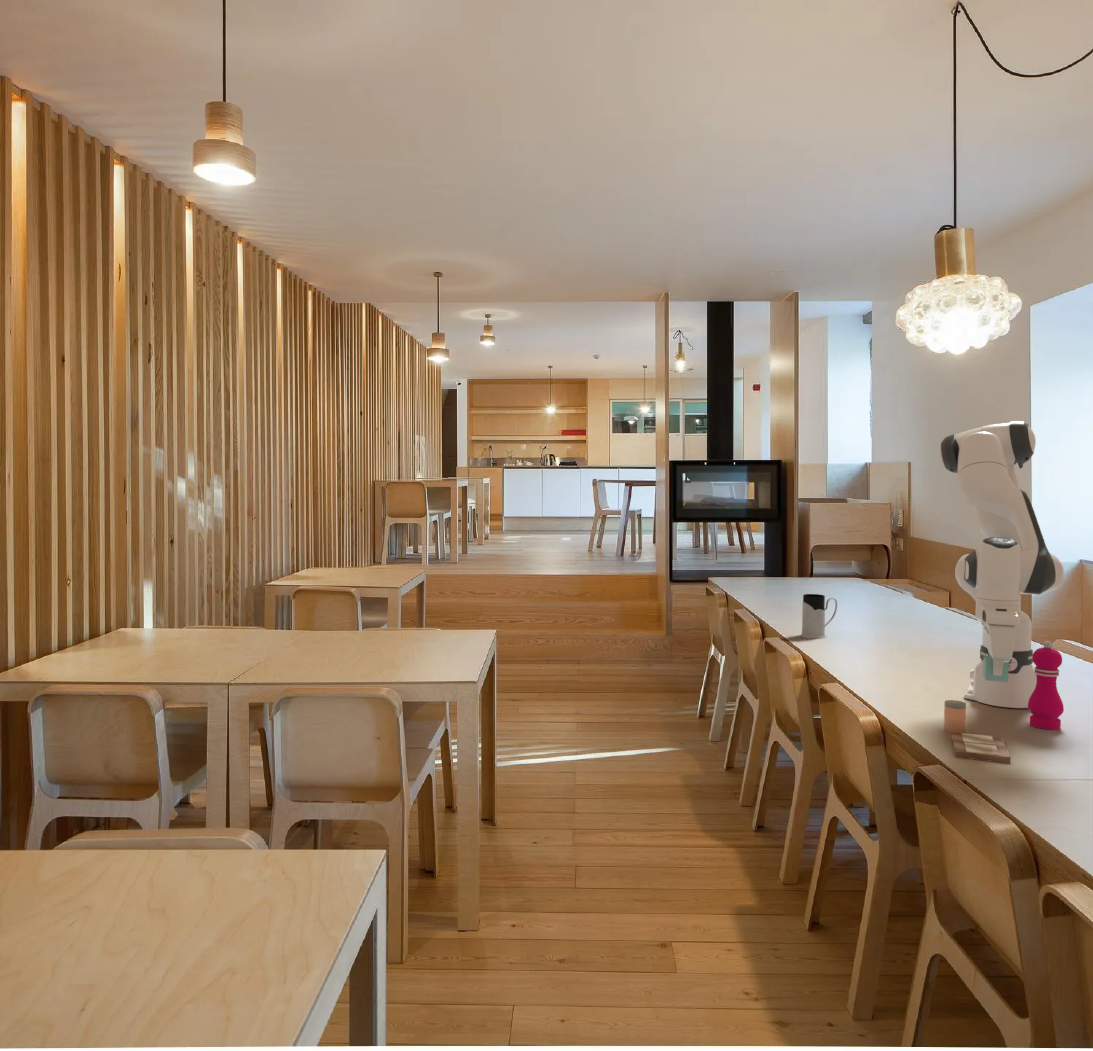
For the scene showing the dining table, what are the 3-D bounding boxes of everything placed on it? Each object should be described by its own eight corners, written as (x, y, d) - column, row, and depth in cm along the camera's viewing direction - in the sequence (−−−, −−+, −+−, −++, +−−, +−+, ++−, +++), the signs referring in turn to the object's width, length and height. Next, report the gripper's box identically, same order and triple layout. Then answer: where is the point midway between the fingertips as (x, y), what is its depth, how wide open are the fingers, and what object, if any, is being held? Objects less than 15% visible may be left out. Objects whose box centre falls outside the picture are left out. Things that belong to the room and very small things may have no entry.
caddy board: (951, 737, 188) (951, 731, 188) (1001, 742, 184) (1001, 736, 184) (955, 757, 175) (956, 750, 175) (1010, 763, 171) (1010, 756, 171)
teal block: (983, 675, 191) (983, 656, 191) (1005, 677, 190) (1006, 657, 189) (985, 680, 187) (985, 660, 187) (1008, 682, 186) (1008, 662, 185)
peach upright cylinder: (943, 728, 195) (943, 699, 194) (964, 730, 193) (965, 701, 193) (944, 733, 191) (945, 704, 190) (965, 735, 189) (966, 706, 189)
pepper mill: (1030, 719, 202) (1032, 636, 200) (1065, 724, 197) (1068, 640, 196) (1024, 726, 196) (1027, 641, 195) (1060, 732, 192) (1063, 645, 190)
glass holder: (795, 634, 309) (796, 594, 308) (828, 632, 313) (829, 592, 312) (810, 639, 300) (810, 597, 300) (843, 636, 305) (844, 595, 304)
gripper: (977, 602, 198) (975, 660, 199) (987, 617, 179) (984, 681, 180) (1007, 604, 196) (1005, 662, 197) (1020, 619, 177) (1018, 684, 178)
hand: (995, 671), depth 188 cm, fingers closed on teal block, 4 cm apart
